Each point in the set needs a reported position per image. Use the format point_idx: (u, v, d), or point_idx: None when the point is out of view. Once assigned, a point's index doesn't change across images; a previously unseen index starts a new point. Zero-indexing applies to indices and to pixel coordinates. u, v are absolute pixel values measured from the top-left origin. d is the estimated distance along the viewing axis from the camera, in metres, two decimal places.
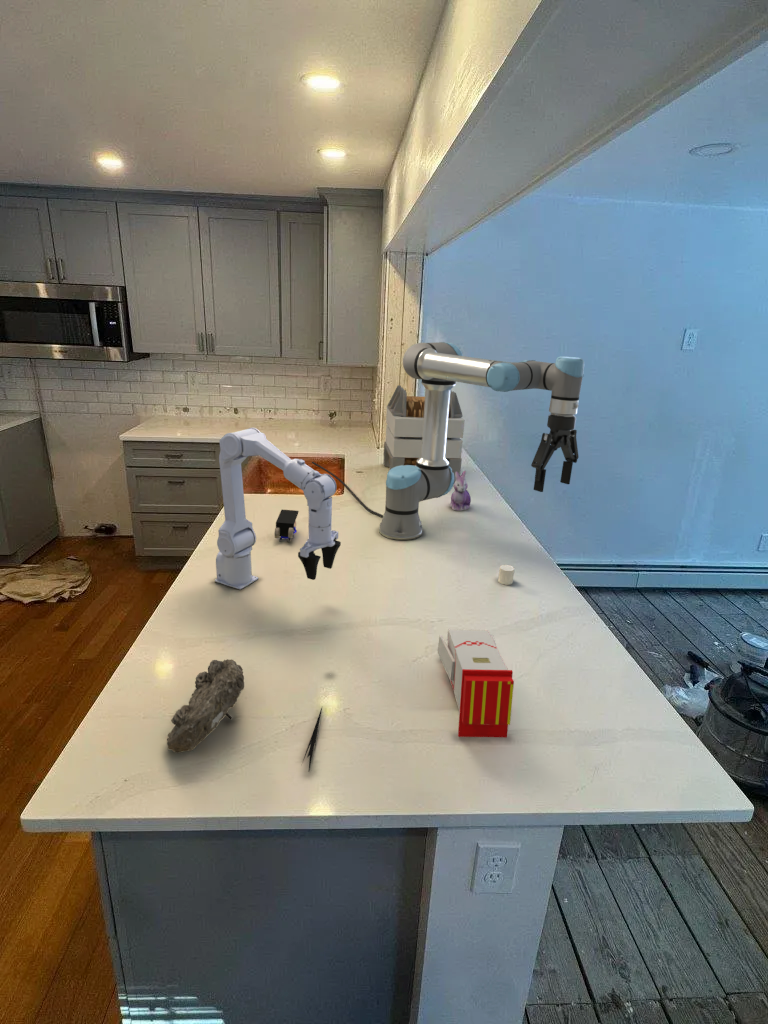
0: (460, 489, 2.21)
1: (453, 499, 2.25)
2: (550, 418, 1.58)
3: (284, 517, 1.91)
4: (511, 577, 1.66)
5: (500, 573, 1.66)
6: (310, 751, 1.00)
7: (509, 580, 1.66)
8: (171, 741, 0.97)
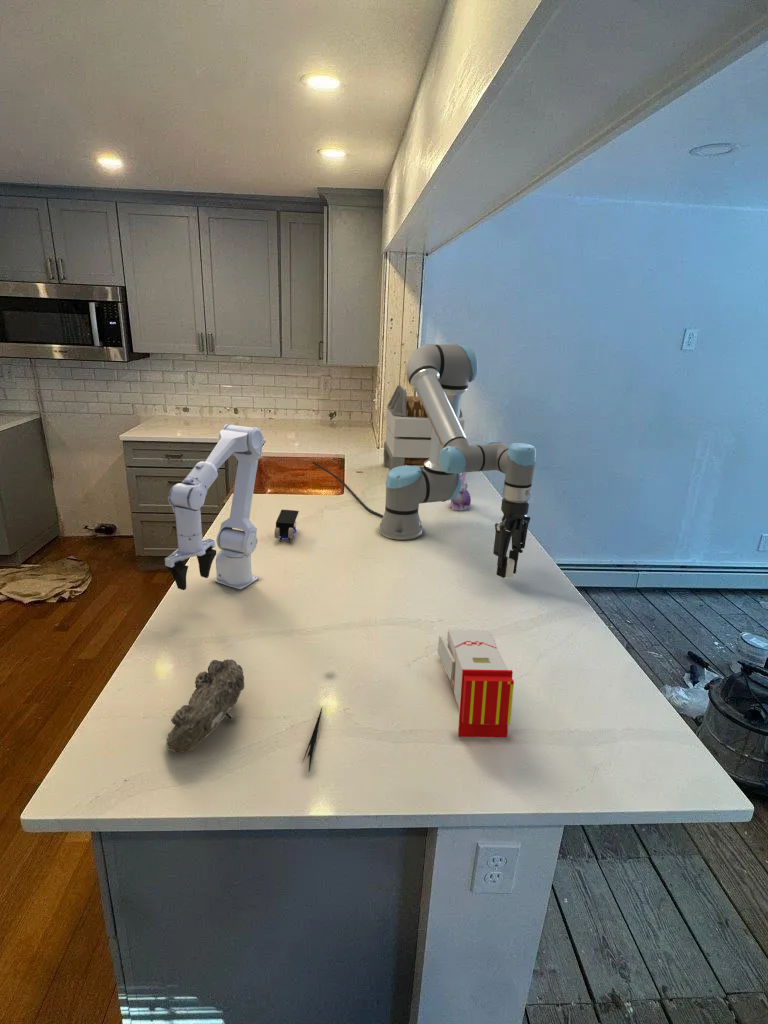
0: None
1: (453, 499, 2.25)
2: (503, 503, 1.59)
3: (284, 517, 1.91)
4: (511, 570, 1.65)
5: None
6: (310, 751, 1.00)
7: (510, 573, 1.65)
8: (171, 741, 0.97)
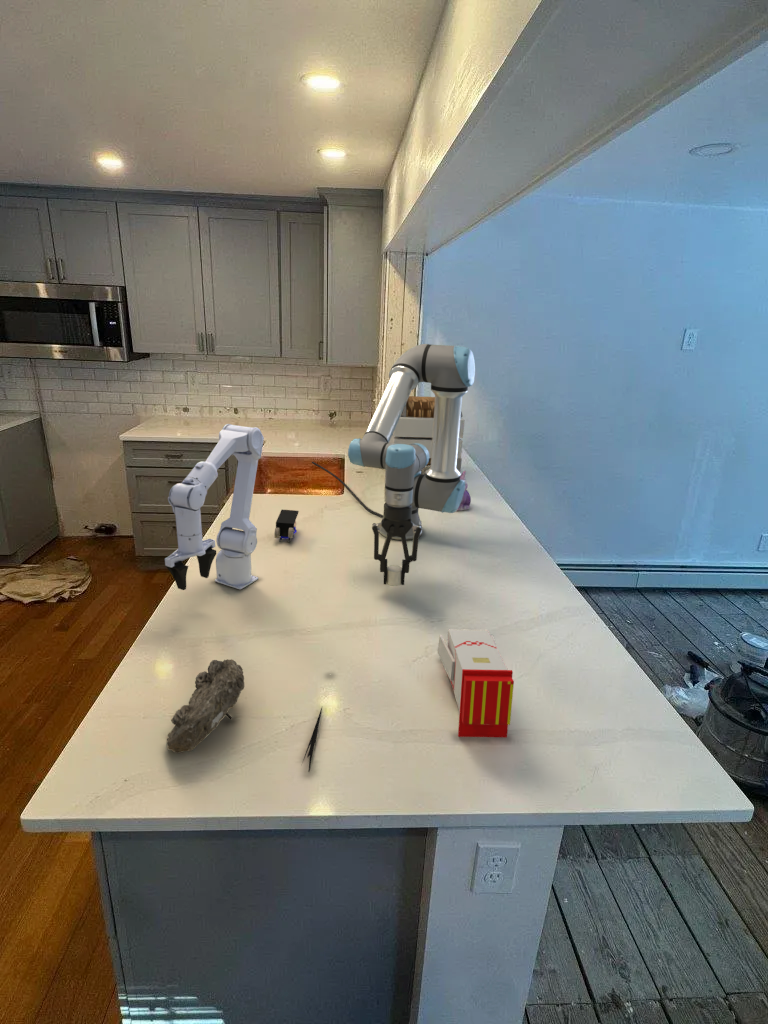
0: None
1: None
2: None
3: (284, 517, 1.91)
4: (393, 579, 1.56)
5: None
6: (310, 751, 1.00)
7: (391, 582, 1.56)
8: (171, 741, 0.97)
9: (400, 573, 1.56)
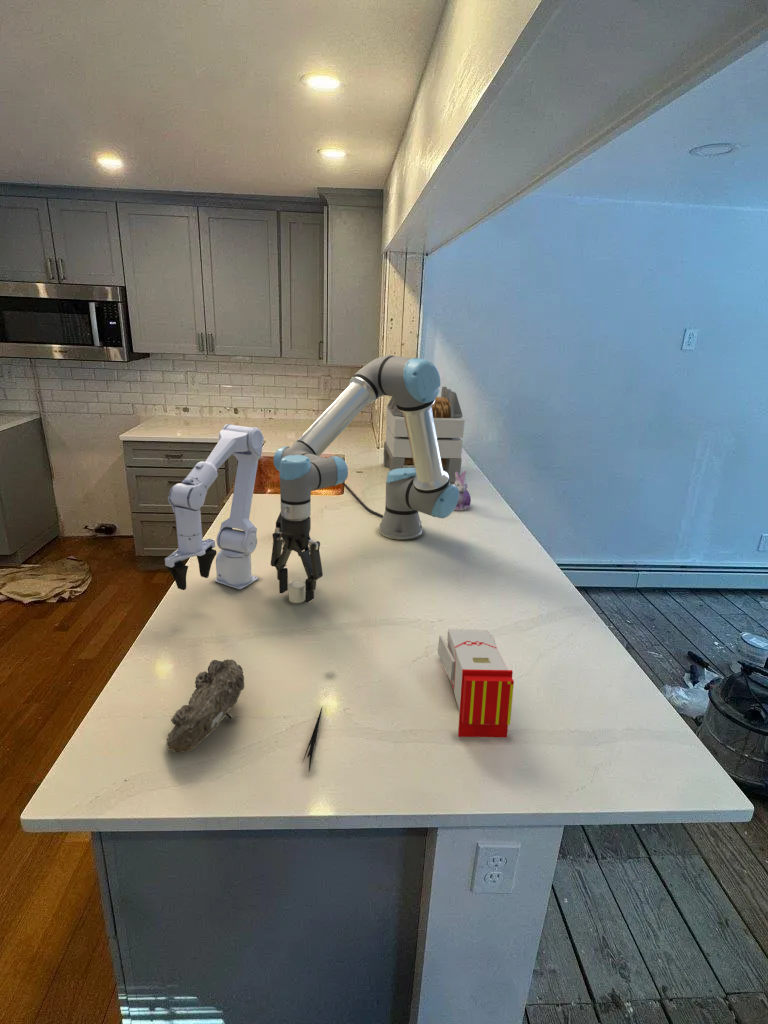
0: (460, 489, 2.21)
1: None
2: None
3: None
4: (291, 594, 1.50)
5: None
6: (310, 751, 1.00)
7: (290, 597, 1.51)
8: (171, 741, 0.97)
9: (298, 590, 1.49)
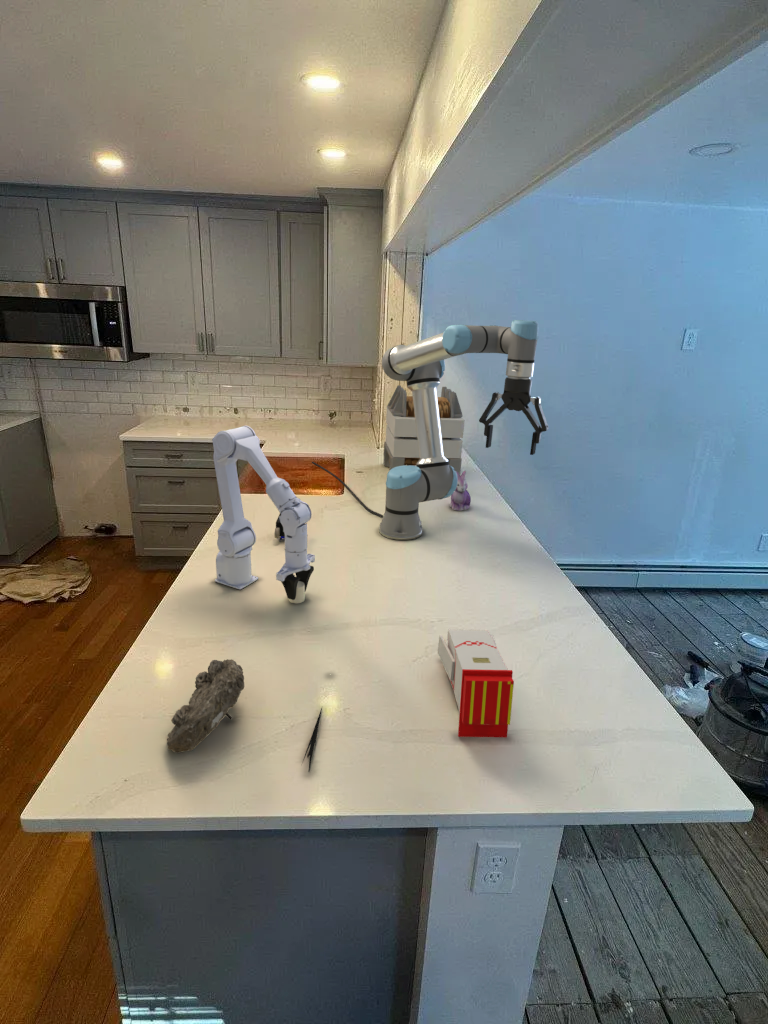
0: (460, 489, 2.21)
1: (453, 499, 2.25)
2: None
3: None
4: None
5: None
6: (310, 751, 1.00)
7: None
8: (171, 741, 0.97)
9: (298, 590, 1.49)
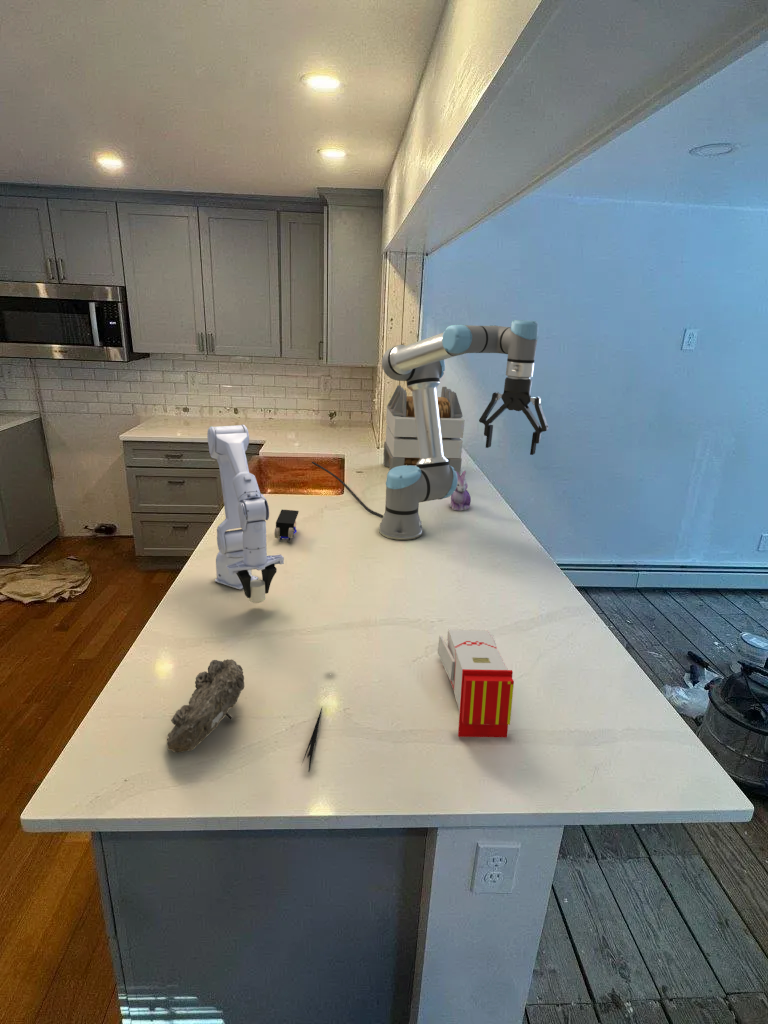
0: (460, 489, 2.21)
1: (453, 499, 2.25)
2: None
3: (284, 517, 1.91)
4: None
5: None
6: (310, 751, 1.00)
7: None
8: (171, 741, 0.97)
9: (253, 590, 1.42)
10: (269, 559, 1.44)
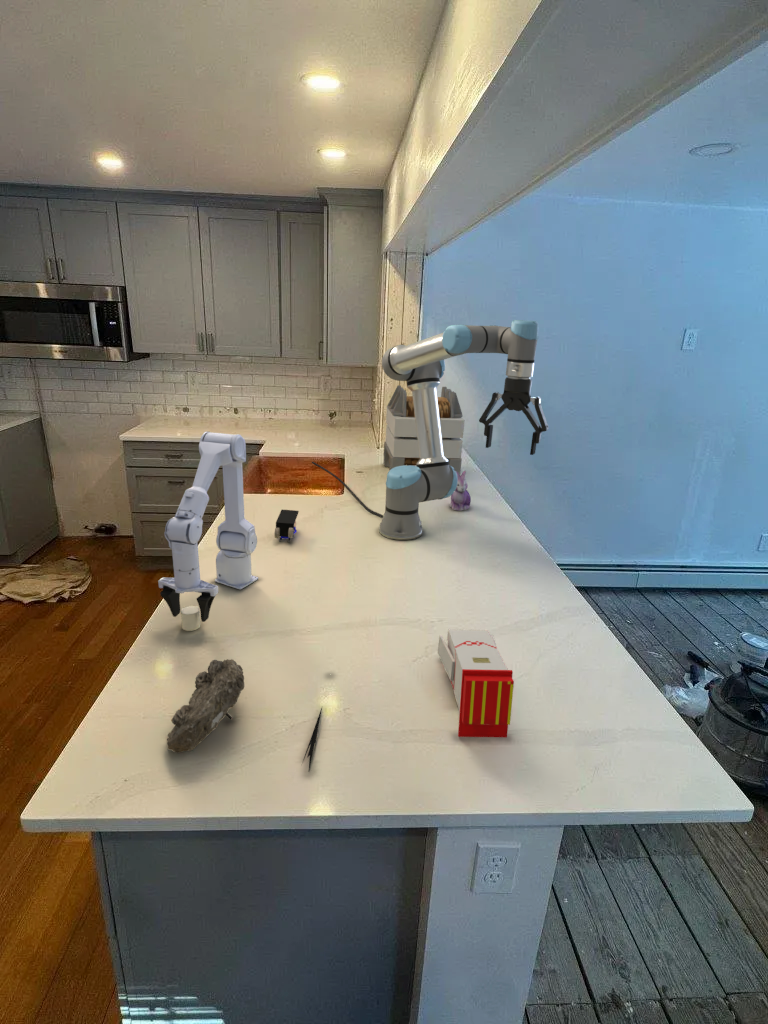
0: (460, 489, 2.21)
1: (453, 499, 2.25)
2: None
3: (284, 517, 1.91)
4: None
5: None
6: (310, 751, 1.00)
7: None
8: (171, 741, 0.97)
9: (181, 615, 1.35)
10: (201, 586, 1.33)
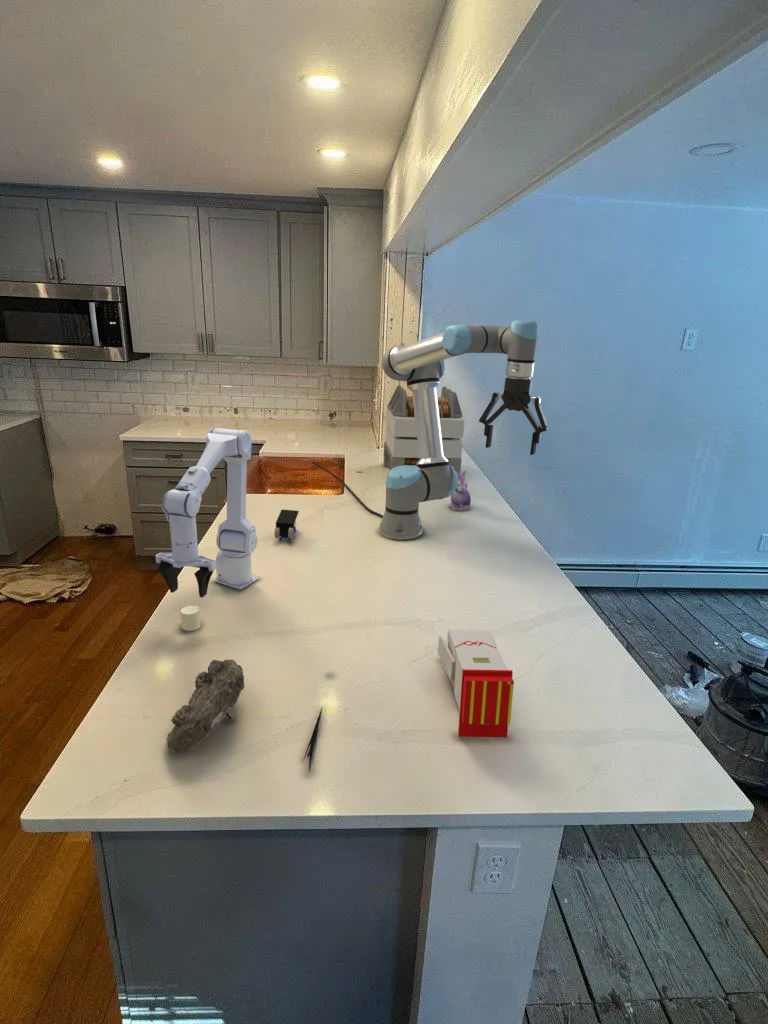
0: (460, 489, 2.21)
1: (453, 499, 2.25)
2: None
3: (284, 517, 1.91)
4: None
5: None
6: (310, 751, 1.00)
7: None
8: (171, 741, 0.97)
9: (181, 615, 1.35)
10: (199, 561, 1.31)
